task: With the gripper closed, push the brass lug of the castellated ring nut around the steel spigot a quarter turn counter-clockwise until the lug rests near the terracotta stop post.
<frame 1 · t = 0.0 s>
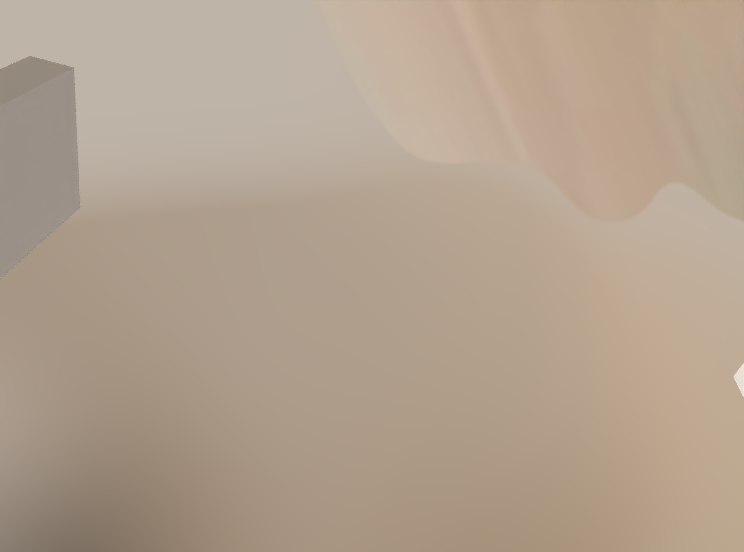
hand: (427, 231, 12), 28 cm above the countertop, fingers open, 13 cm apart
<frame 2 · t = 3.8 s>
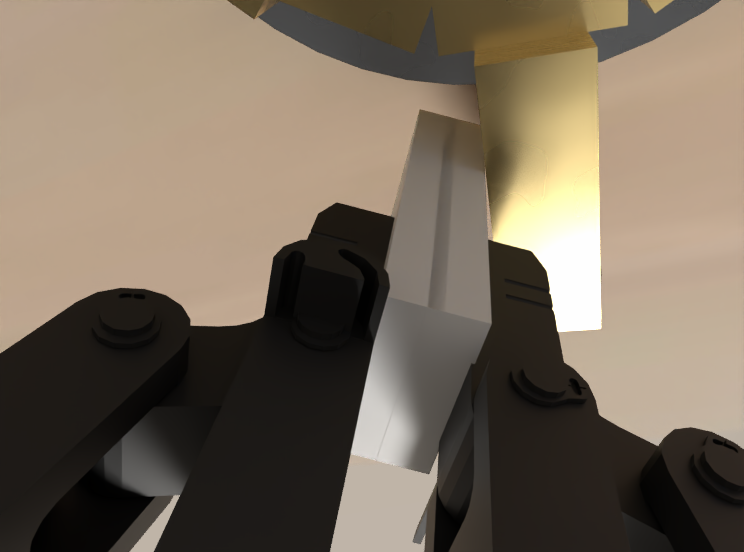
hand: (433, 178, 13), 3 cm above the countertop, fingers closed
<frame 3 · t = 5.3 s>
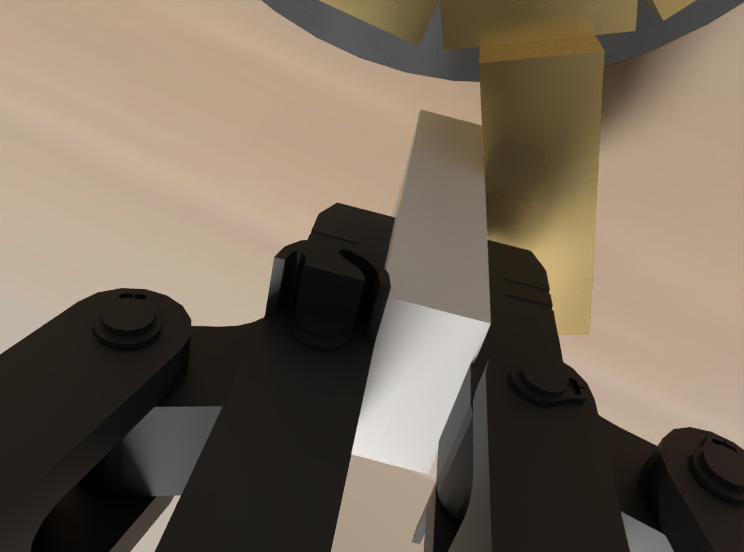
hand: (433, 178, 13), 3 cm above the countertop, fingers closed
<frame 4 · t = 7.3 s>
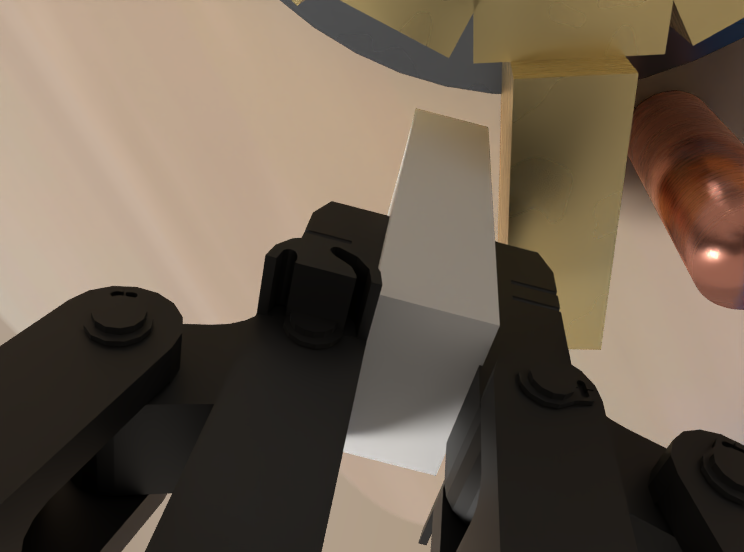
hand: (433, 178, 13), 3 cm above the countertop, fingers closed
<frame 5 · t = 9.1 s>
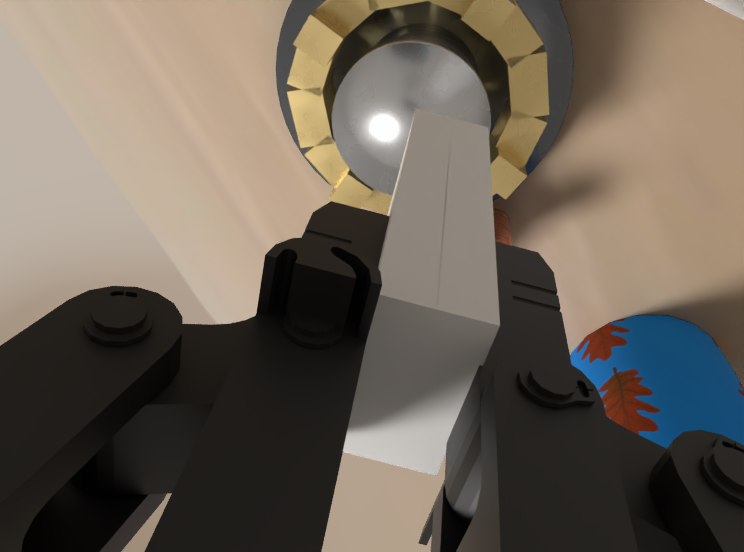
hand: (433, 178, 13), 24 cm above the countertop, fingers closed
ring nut: (425, 158, 34), point 4 cm above the countertop, hinge at 82.8°
thermos: (641, 374, 45), on the countertop
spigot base: (421, 78, 36), on the countertop
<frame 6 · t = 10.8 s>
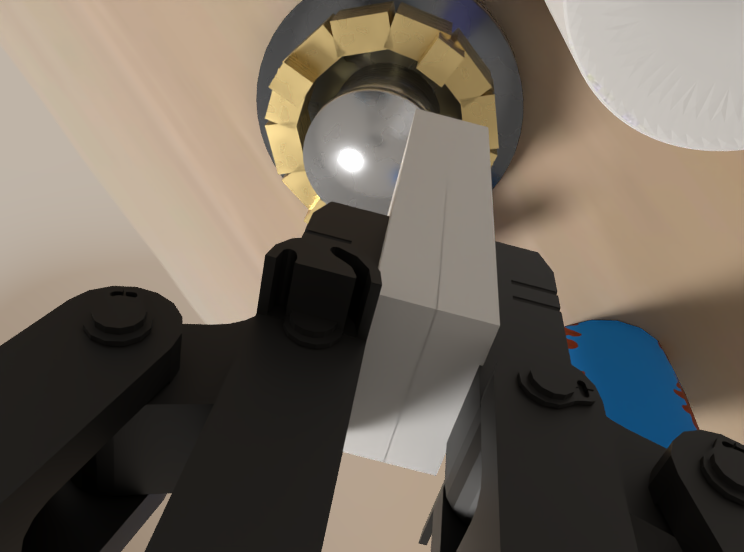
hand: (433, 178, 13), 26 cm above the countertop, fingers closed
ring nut: (390, 183, 38), point 4 cm above the countertop, hinge at 82.8°
thermos: (595, 372, 49), on the countertop
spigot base: (389, 108, 40), on the countertop
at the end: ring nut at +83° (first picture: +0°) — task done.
